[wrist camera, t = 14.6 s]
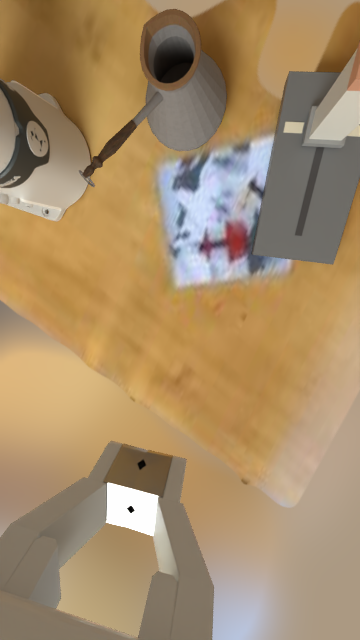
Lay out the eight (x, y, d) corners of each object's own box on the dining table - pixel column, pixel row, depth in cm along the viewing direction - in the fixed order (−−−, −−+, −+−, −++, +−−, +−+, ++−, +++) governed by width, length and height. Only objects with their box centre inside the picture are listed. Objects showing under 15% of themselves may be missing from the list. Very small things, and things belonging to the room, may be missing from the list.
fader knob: (301, 145, 33) (350, 82, 20) (309, 110, 32) (367, 17, 19) (340, 148, 33) (417, 84, 20) (350, 111, 31) (440, 17, 18)
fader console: (251, 253, 41) (252, 254, 39) (285, 83, 34) (289, 70, 31) (326, 263, 40) (333, 264, 37) (379, 86, 32) (391, 73, 30)
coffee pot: (184, 44, 35) (156, -92, 21) (243, 103, 35) (254, 11, 21) (103, 177, 42) (40, 144, 28) (153, 224, 43) (117, 214, 28)
